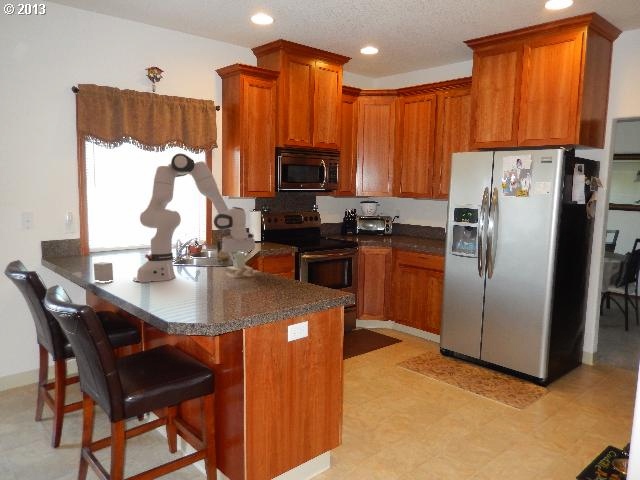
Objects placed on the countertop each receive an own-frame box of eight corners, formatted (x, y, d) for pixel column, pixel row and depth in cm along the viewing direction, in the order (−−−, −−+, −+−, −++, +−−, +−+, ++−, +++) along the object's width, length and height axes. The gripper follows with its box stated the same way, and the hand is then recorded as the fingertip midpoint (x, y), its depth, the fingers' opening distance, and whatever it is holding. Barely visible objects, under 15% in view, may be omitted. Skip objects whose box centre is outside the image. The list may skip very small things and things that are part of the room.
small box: (113, 282, 255) (112, 262, 254) (105, 283, 250) (104, 264, 249) (103, 280, 258) (102, 261, 257) (94, 282, 253) (93, 263, 252)
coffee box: (217, 265, 310) (216, 241, 308) (220, 263, 316) (219, 240, 315) (230, 265, 309) (230, 241, 308) (233, 264, 316) (233, 240, 314)
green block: (237, 268, 271) (237, 254, 270) (233, 267, 274) (232, 253, 274) (245, 267, 274) (244, 253, 273) (240, 266, 278) (240, 253, 277)
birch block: (233, 278, 266) (233, 269, 266) (226, 275, 277) (225, 266, 276) (252, 276, 272) (252, 268, 272) (245, 273, 283) (245, 265, 282)
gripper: (224, 236, 263) (225, 261, 264) (256, 234, 276) (256, 257, 277) (219, 235, 268) (220, 259, 269) (250, 233, 281) (251, 256, 282)
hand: (239, 258), depth 273 cm, fingers open, 7 cm apart
